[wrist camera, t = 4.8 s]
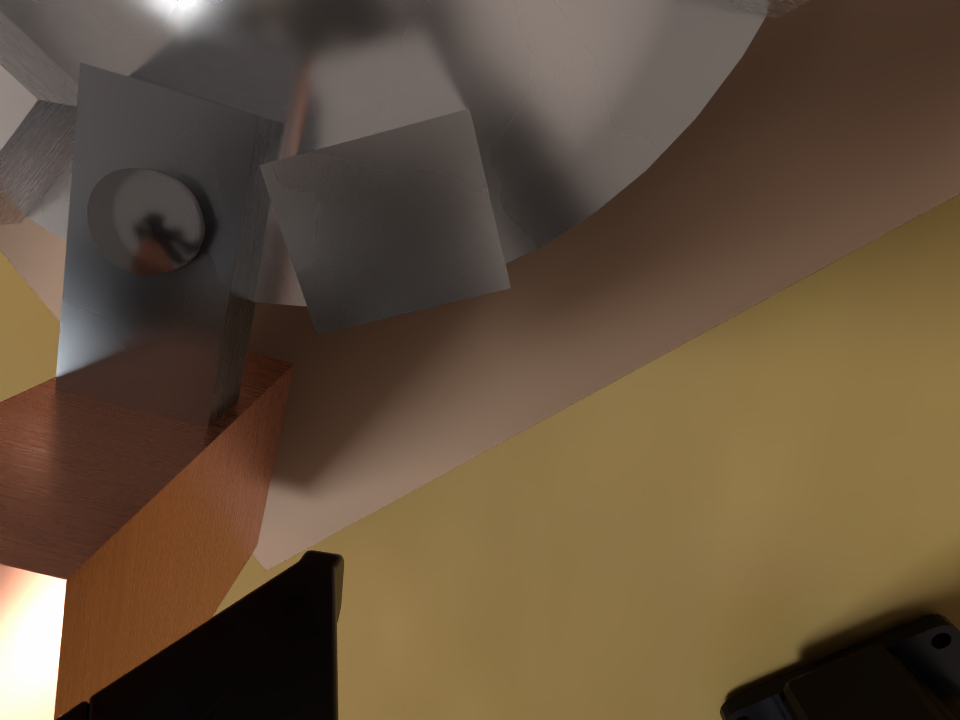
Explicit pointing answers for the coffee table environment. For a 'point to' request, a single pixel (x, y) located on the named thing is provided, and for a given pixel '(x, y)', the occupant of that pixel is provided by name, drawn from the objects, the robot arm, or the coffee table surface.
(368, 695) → the coffee table surface
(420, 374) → the square disc baseplate
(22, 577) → the round disc with cubes
